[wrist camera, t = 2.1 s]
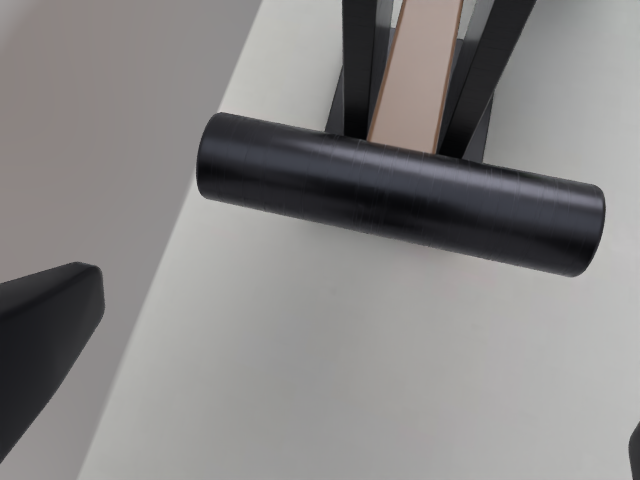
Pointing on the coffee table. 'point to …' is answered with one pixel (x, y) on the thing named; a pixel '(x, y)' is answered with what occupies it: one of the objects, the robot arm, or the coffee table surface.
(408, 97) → the lever
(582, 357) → the coffee table surface
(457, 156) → the bracket
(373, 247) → the coffee table surface
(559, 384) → the coffee table surface
